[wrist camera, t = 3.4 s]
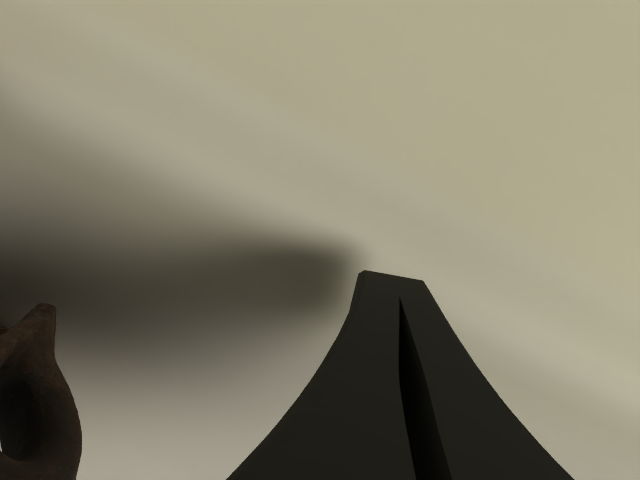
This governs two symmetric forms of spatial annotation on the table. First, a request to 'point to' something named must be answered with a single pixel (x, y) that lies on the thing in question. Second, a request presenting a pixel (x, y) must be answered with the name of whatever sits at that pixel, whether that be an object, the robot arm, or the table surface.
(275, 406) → the table surface
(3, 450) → the pottery mug
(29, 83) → the table surface
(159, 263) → the table surface
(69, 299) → the table surface
